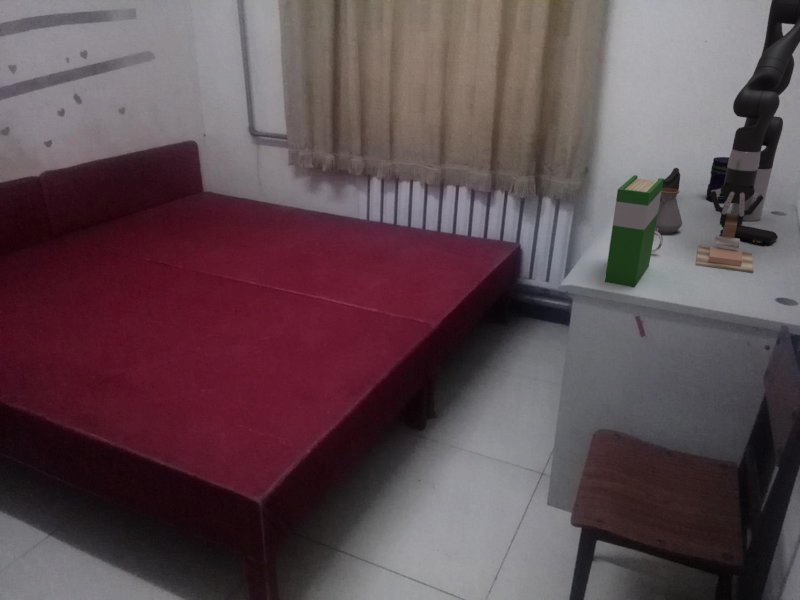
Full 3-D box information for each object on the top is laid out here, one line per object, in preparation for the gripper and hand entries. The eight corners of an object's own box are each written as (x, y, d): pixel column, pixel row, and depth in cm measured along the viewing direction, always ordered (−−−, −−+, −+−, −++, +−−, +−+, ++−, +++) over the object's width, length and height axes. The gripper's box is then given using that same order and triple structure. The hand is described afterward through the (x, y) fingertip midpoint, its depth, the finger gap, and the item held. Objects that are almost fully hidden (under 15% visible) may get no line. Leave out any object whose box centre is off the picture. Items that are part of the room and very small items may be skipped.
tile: (710, 246, 185) (709, 256, 178) (741, 250, 182) (742, 260, 175) (709, 252, 186) (708, 262, 178) (740, 256, 183) (740, 266, 175)
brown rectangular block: (717, 227, 190) (720, 212, 187) (740, 230, 188) (743, 215, 185) (715, 245, 183) (718, 230, 180) (738, 248, 181) (742, 232, 178)
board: (698, 247, 191) (698, 245, 191) (751, 254, 186) (751, 252, 186) (695, 265, 178) (696, 262, 178) (753, 273, 173) (753, 270, 172)
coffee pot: (648, 222, 214) (656, 177, 208) (685, 229, 208) (693, 182, 202) (626, 238, 199) (634, 190, 193) (665, 246, 192) (674, 196, 186)
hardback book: (621, 261, 180) (634, 175, 171) (648, 266, 177) (663, 178, 167) (604, 281, 166) (617, 189, 157) (634, 287, 163) (649, 193, 153)
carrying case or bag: (715, 238, 201) (767, 249, 191) (717, 228, 199) (770, 239, 190) (727, 230, 208) (778, 241, 199) (729, 221, 207) (780, 231, 197)
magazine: (674, 169, 247) (659, 158, 221) (683, 170, 246) (669, 159, 219) (663, 215, 250) (648, 209, 224) (672, 216, 248) (658, 211, 222)
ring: (660, 254, 186) (665, 227, 183) (659, 257, 183) (663, 230, 180) (635, 250, 189) (639, 223, 186) (633, 253, 187) (637, 226, 183)
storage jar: (700, 200, 241) (708, 159, 235) (712, 195, 247) (720, 155, 241) (727, 205, 235) (736, 163, 229) (739, 200, 241) (748, 160, 235)
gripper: (770, 166, 179) (756, 226, 186) (715, 161, 185) (703, 220, 192) (772, 171, 173) (757, 234, 180) (714, 166, 178) (702, 227, 185)
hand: (729, 226), depth 186 cm, fingers closed on brown rectangular block, 3 cm apart
